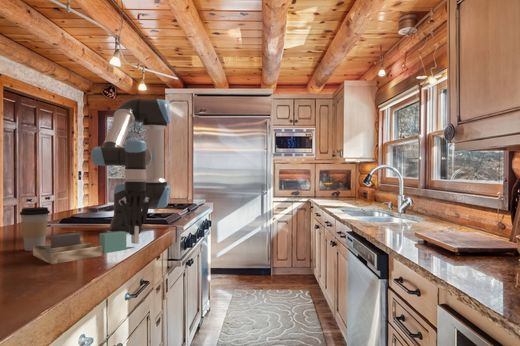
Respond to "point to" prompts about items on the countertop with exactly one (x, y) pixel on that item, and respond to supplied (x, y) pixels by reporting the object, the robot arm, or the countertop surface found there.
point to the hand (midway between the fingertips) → (135, 243)
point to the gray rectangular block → (65, 240)
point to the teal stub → (113, 241)
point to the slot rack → (66, 252)
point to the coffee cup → (34, 226)
